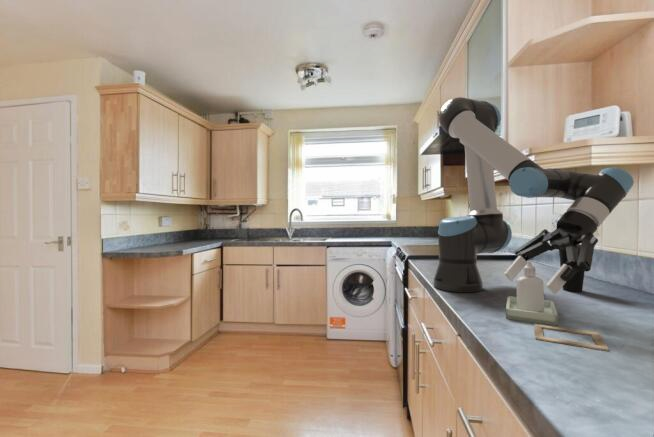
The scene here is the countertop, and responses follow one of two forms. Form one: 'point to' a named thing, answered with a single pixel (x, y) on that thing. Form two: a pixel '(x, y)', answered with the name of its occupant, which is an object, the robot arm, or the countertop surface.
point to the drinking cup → (577, 280)
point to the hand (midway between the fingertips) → (527, 283)
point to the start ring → (596, 337)
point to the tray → (532, 313)
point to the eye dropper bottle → (530, 291)
